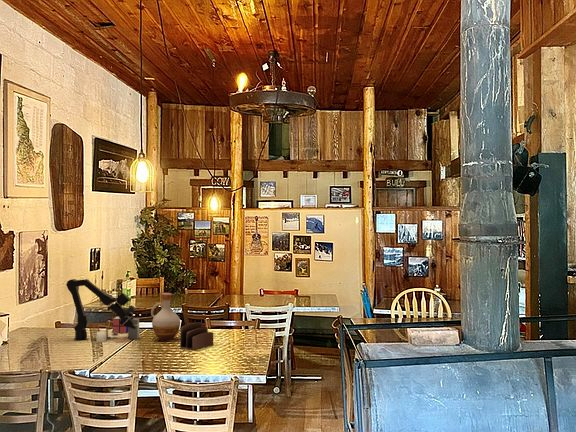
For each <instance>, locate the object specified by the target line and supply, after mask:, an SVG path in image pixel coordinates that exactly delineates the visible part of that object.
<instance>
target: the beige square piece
mask: <svg viewBox="0 0 576 432" xmlns="http://www.w3.org/2000/svg"><path fill="white" fill-rule="evenodd" d="M97 331H98V330H97ZM106 337H107V332H106V330H99V331H98V332H97V333H96V342H97V343H105V342H107V339H106Z"/></svg>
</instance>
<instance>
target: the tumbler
mask: <svg viewBox="0 0 576 432" xmlns="http://www.w3.org/2000/svg"><path fill="white" fill-rule="evenodd" d="M131 322H132V324H133V325H134V326H135V329H133V328H130V327H128V333H127V336H128V337H127V339H129V340H138V339H140V318H138V317H135V318H134V317H133V318H131Z"/></svg>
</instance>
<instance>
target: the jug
mask: <svg viewBox="0 0 576 432" xmlns="http://www.w3.org/2000/svg"><path fill="white" fill-rule="evenodd" d="M160 294H161V298H160V299H161V302H157V303H155V304H154V305H153V307H152V308H151V311H150V316H151V317H152V320H151V326H152V330H153V332H154V334H155V336H156V338H157V339H158V340H159V341H161V342H171V341H173V340H174V338H175V337H176V336H177V334H178V332H179V331H180V328H181V319H180V316H178V314H177V313H175V311H173V309H172V308H171V302H172V301H171V300H172V296H173V295H172V293H170V292H162V293H160ZM158 306H161V309H160V311H159V312H157V314H156V315H155V314H154V312H155V309H156V307H158ZM170 340H171V341H170Z"/></svg>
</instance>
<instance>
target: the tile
mask: <svg viewBox="0 0 576 432" xmlns="http://www.w3.org/2000/svg"><path fill="white" fill-rule="evenodd" d="M113 341H114V342H115V343H117V344H121V343H128V342H130V341H131V339H128V337H122V338H113Z"/></svg>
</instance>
